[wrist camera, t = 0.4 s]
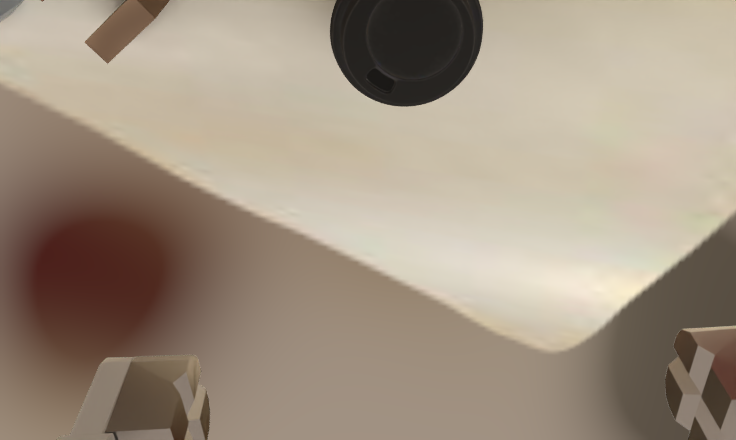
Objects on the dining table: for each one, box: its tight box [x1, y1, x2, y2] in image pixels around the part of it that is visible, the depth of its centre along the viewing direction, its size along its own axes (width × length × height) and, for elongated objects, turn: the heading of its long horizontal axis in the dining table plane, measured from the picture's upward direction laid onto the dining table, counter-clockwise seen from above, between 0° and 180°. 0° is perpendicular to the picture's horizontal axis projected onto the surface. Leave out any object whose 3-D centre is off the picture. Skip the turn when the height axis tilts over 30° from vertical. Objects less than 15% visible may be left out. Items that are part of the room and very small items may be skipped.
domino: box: [85, 0, 169, 63], centre depth 50 cm, size 2×5×8 cm, turn 129°
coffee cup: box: [330, 0, 483, 106], centre depth 46 cm, size 9×9×15 cm
